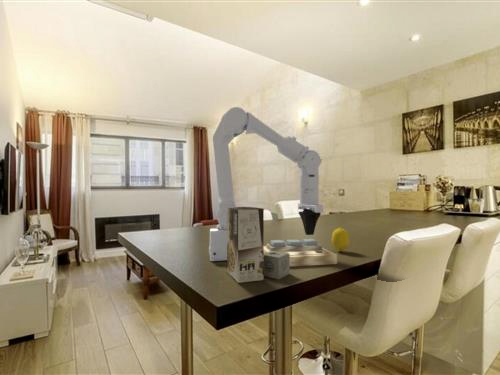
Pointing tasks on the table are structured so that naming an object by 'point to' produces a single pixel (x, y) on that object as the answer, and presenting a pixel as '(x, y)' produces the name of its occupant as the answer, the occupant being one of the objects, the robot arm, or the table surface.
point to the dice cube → (276, 264)
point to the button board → (305, 254)
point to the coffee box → (245, 243)
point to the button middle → (293, 243)
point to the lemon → (340, 239)
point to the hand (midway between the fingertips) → (309, 234)
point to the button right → (309, 242)
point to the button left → (278, 243)
